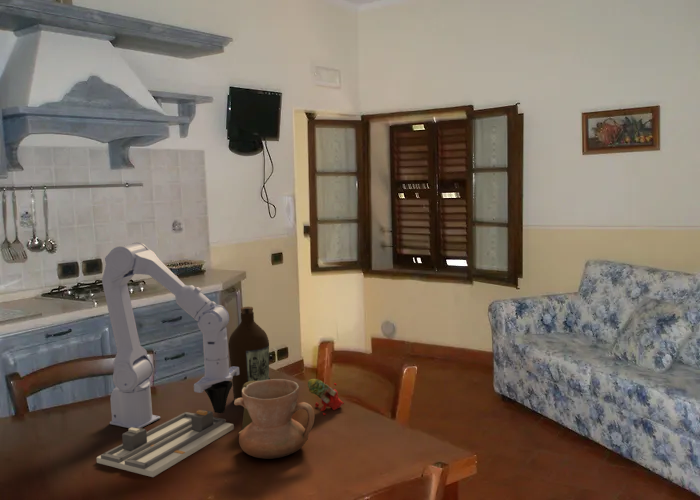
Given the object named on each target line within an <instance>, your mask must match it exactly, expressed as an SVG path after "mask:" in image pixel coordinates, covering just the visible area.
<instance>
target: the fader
mask: <svg viewBox="0 0 700 500" xmlns="http://www.w3.org/2000/svg"><path fill="white" fill-rule="evenodd" d="M127 429H128V431H126V432H123V433H122V434H121V437H122V444H123V449H125V450H129V451H132V450H134V449H136V448H138V447H140V446H142V445H144V444H145V443H147V434H146V432H147V429H146V428H143V427H142V428H138V427H136V428H133V427H131V428H127Z"/></svg>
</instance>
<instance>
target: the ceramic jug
mask: <svg viewBox="0 0 700 500" xmlns="http://www.w3.org/2000/svg"><path fill="white" fill-rule="evenodd" d="M299 387H300V386H299V384H298V383H297V382H296V381H293V380H289V379H284V378H273V379H272V378H270V379H269V380H262V381H257V382H253V383H250V384H248V385H247V386H246V387H244V388H243V389H242V398H238V399H236V400H235V401H234V400H233V401H234V402H233V404H234V406H241V407H243V409H244V408H246V409H247V410H248V413H249V415H250V417H251V419H252V421H253V422H252V423H250V424H249V425H247V426H246V427H245V428H244V429H243V428H242V429H241V430H240V431H239V432H238V436H239V437H238V444H239V446H240V448H241V449H242V451H243V452H244V453H246V454H247V455H249V456H250V457H251V456H252V457H254V458H258V459H267V460H271V459H273V460H274V459H280V458H283V457H287V456H289V455H291V454H294V453H296V452H298V451H299V450H300V449H302V448H303V446H304V445H305V444H306V442H308V440H309V433H310V432H311V431H312V430H311V429H312V428H313V427H314V424H315V423H314V422H315V416H316V415H315V410H314V408H313V406H312V405H311V404H310V403H308V402H305V401H301V402H298V400H299V399H298V398H299V390H300V389H299ZM297 402H298V403H297ZM299 410H305V411H306V413H307V424H306V427H304V426H303V424H302V423H300V422H299V421H297V420H296V419H293V418H292V417H293V415H294V414H295V413H296V412H297V411H299Z"/></svg>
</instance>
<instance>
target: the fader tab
mask: <svg viewBox="0 0 700 500" xmlns="http://www.w3.org/2000/svg"><path fill="white" fill-rule="evenodd" d="M213 417H214V411H211V410H205V409H198V410H196V413H194V415H192V416H191V420H192V430H194V431H199V432H201V431H203V430H204V429H206V428H208V427H210V426H211V425H213V424H214V423H213Z"/></svg>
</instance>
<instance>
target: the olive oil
mask: <svg viewBox="0 0 700 500" xmlns="http://www.w3.org/2000/svg"><path fill="white" fill-rule="evenodd" d="M228 339H229V340H228V356H229V361H230V362H229V365H230V367H232V366H235V367H239V375H237V376H236V375H234V376H233V379H231V380H232V392H233V401H235V400H236V399H238V398H242V387H243V385H244V384H245V383H246V382H249V381H262V380H269V379H270V380H271V378H270V340H269V337H268V335H267V333H266V331H265V330H264V329H263V328H262V327H261V326H259V324H257V323H256V321H255V315H254V307H253V306H243V307H240V323H239V324H238V326H237V327H236V328H235V329H234V330H233V331H232V332H231V334H230V337H229V338H228Z"/></svg>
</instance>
